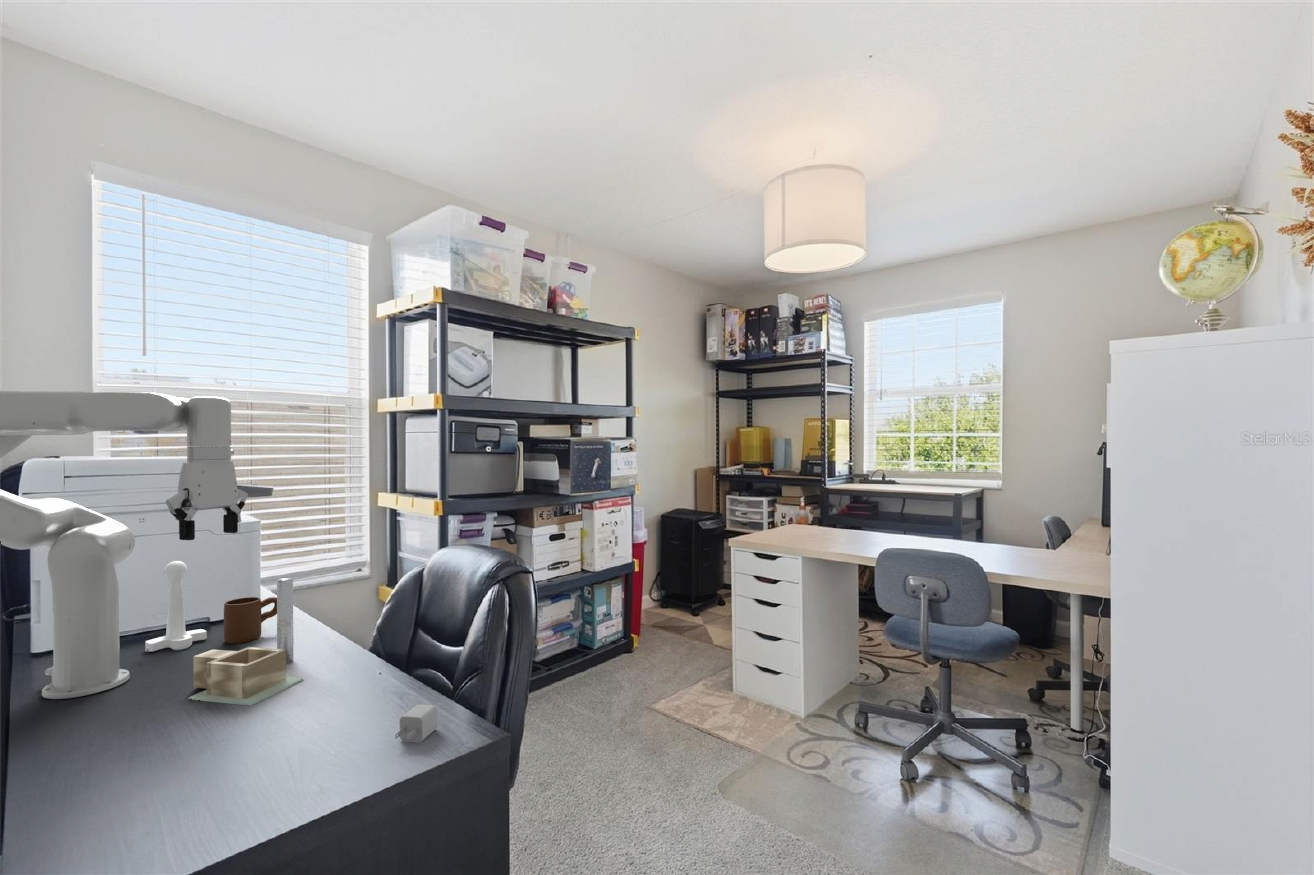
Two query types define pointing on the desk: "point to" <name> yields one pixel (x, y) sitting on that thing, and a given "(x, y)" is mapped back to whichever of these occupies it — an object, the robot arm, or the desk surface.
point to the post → (285, 617)
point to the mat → (251, 700)
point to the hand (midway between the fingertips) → (209, 536)
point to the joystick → (175, 614)
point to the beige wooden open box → (239, 671)
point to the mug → (245, 618)
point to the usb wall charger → (418, 723)
